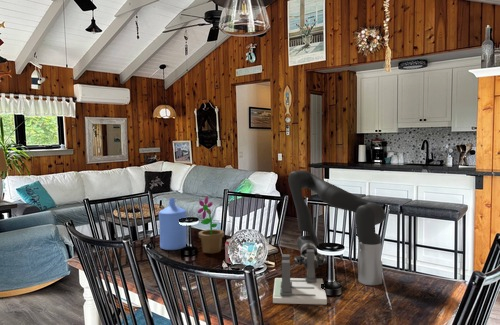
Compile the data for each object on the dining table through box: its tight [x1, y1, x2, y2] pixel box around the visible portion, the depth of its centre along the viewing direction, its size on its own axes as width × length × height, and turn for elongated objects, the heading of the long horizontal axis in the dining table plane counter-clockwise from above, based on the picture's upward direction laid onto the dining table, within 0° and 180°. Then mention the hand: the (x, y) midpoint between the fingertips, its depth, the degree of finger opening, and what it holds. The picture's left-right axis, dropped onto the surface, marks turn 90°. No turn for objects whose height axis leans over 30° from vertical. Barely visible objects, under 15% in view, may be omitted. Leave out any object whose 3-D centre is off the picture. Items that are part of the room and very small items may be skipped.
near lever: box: [280, 259, 292, 296], centre depth 143 cm, size 4×4×12 cm
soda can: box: [224, 238, 231, 264], centre depth 186 cm, size 7×7×12 cm
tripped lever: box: [304, 249, 318, 282], centre depth 156 cm, size 4×4×12 cm
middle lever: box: [281, 253, 292, 288], centre depth 150 cm, size 4×4×12 cm
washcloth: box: [267, 244, 279, 256], centre depth 207 cm, size 12×18×3 cm, turn 42°
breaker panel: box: [272, 277, 328, 305], centre depth 150 cm, size 20×20×2 cm
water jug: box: [158, 198, 188, 251], centre depth 218 cm, size 16×16×28 cm
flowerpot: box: [197, 196, 225, 254], centre depth 208 cm, size 14×14×30 cm
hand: (311, 266), depth 153 cm, fingers closed on tripped lever, 3 cm apart
